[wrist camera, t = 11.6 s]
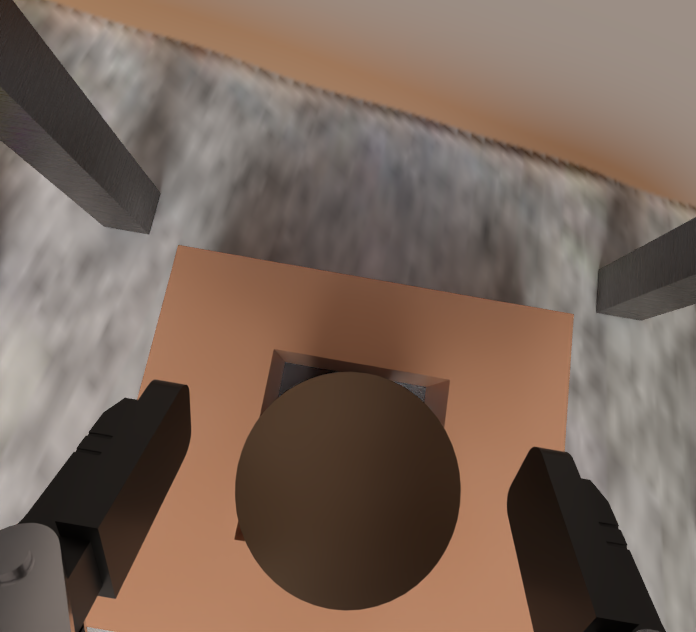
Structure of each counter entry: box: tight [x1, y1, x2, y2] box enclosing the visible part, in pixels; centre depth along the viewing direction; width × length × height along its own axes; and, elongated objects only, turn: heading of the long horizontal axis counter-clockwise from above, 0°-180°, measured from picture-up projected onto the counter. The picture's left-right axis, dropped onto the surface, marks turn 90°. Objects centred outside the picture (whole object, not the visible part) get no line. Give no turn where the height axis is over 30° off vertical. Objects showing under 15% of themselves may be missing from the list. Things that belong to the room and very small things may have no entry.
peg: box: [235, 372, 461, 611], centre depth 14 cm, size 4×4×10 cm
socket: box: [85, 245, 574, 632], centre depth 17 cm, size 14×12×4 cm
